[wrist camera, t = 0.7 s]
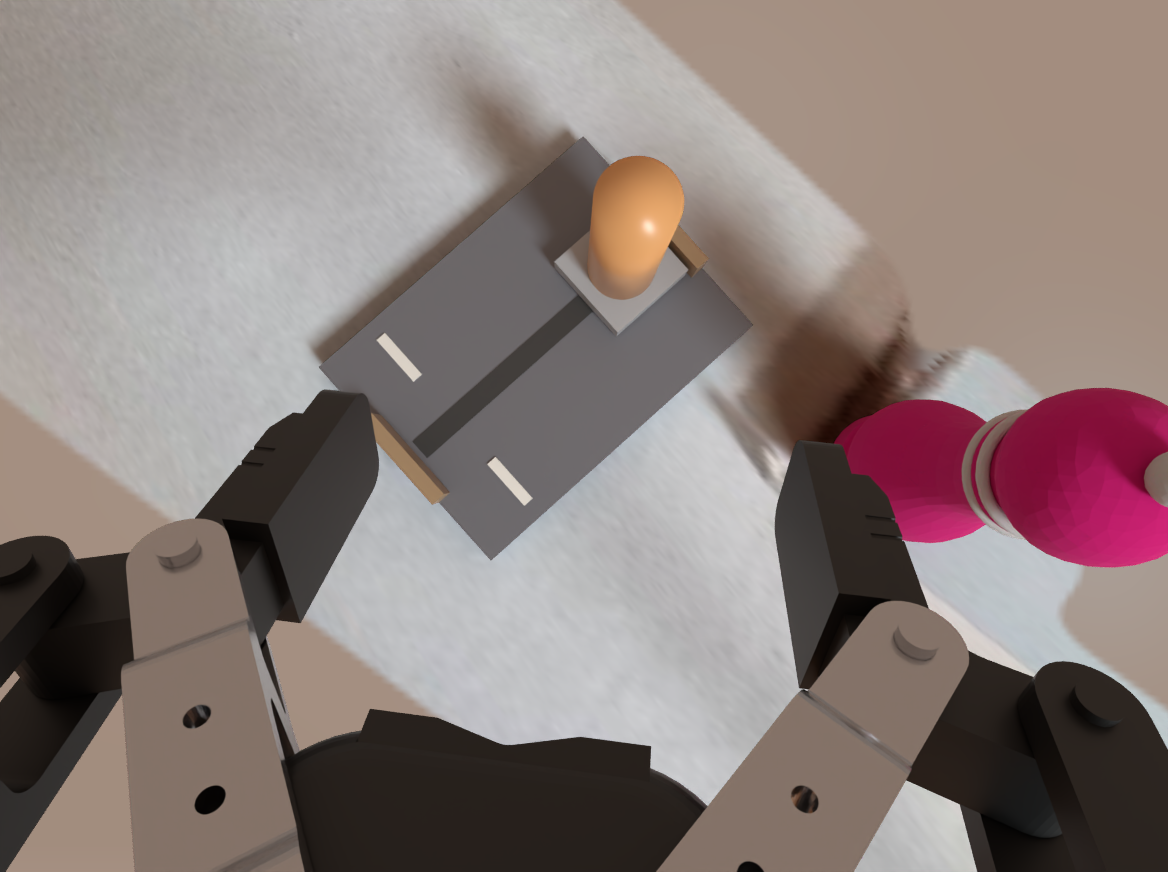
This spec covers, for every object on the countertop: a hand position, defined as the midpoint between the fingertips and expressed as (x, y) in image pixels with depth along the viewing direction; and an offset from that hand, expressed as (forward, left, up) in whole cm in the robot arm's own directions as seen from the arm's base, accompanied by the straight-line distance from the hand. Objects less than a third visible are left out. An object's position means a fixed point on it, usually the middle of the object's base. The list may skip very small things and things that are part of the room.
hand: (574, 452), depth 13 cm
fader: (-6, +9, -24) cm, 26 cm away
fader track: (-6, +3, -26) cm, 26 cm away
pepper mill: (+12, +13, -26) cm, 31 cm away
